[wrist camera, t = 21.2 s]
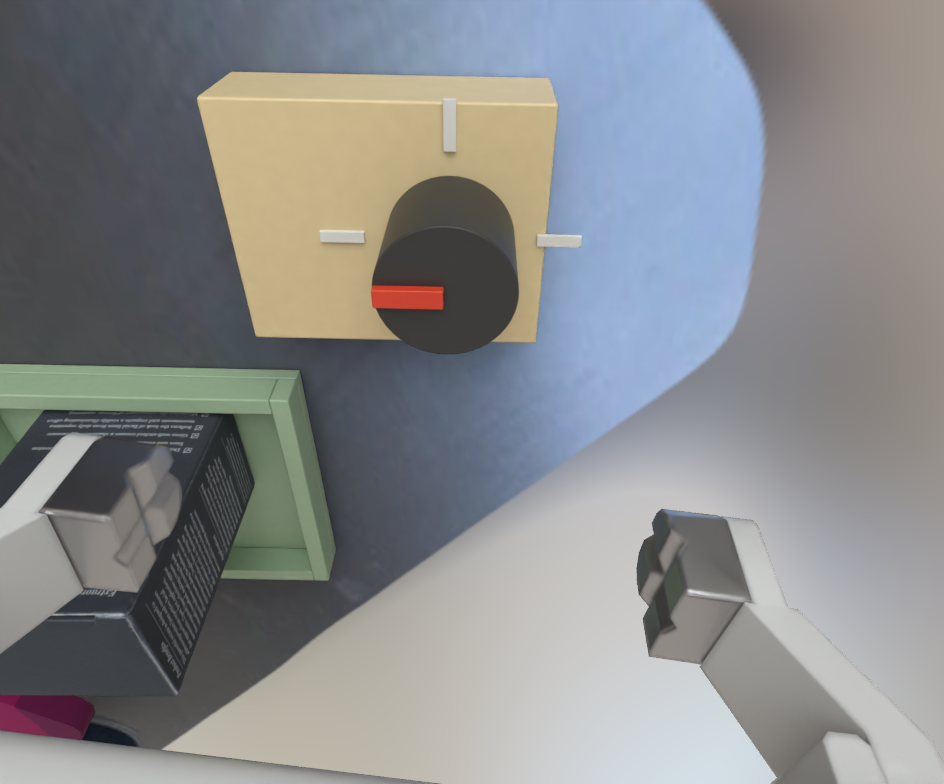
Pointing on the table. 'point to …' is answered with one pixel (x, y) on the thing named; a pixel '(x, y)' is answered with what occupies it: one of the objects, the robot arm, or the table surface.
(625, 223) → the table surface
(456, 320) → the dial
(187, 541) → the box
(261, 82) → the panel
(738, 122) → the table surface
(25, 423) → the tray
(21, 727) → the book
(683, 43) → the table surface
